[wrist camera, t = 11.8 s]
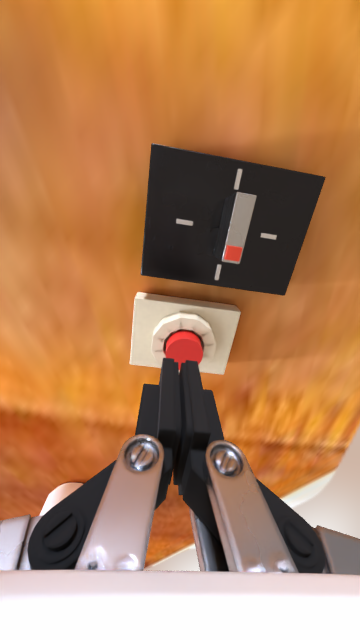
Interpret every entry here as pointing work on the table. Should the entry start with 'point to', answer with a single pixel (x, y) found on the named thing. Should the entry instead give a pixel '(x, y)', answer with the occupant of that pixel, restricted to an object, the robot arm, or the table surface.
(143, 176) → the table surface
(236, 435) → the table surface
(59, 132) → the table surface
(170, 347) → the button
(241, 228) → the hob knob
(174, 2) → the table surface
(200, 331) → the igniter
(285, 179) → the panel
